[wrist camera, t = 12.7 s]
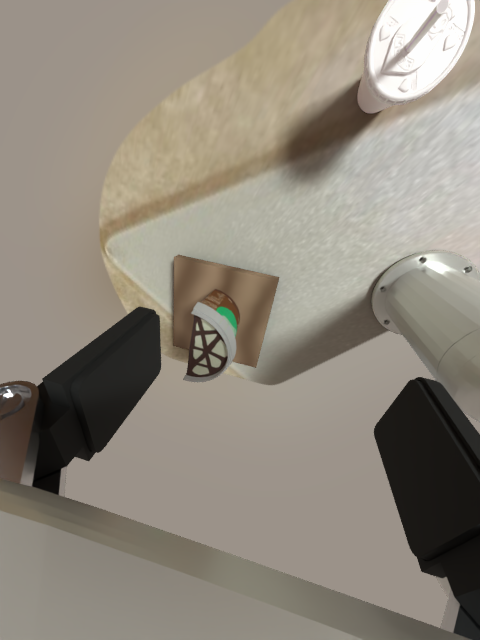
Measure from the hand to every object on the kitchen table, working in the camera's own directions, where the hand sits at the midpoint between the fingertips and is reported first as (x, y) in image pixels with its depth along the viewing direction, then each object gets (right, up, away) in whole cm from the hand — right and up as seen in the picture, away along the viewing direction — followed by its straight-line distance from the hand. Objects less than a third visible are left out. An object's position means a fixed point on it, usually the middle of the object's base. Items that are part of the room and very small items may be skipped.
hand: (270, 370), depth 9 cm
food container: (-3, +2, +29) cm, 30 cm away
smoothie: (+13, +26, +15) cm, 33 cm away
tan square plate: (-4, +4, +32) cm, 33 cm away
